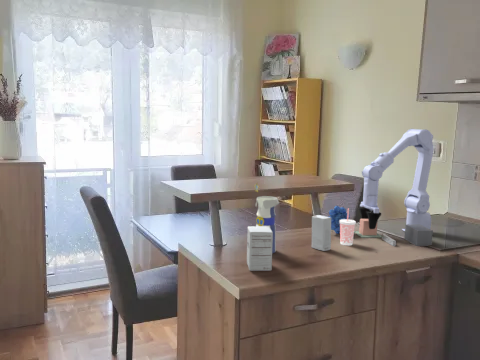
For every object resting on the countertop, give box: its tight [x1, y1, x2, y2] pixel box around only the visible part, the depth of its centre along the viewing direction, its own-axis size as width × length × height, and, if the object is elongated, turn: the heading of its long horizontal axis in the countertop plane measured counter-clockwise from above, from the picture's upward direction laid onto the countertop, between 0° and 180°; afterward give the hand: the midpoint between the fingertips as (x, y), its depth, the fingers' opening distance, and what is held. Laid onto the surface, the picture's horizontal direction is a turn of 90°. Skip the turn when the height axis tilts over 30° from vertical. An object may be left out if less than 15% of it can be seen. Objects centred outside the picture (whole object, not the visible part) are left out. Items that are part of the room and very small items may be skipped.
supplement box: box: [246, 225, 273, 272], centre depth 145 cm, size 7×7×13 cm
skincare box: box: [311, 214, 332, 252], centre depth 166 cm, size 6×4×12 cm
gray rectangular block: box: [403, 224, 434, 247], centre depth 178 cm, size 6×10×6 cm, turn 7°
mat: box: [354, 230, 382, 239], centre depth 189 cm, size 9×9×1 cm
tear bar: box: [381, 233, 397, 247], centre depth 177 cm, size 1×10×2 cm, turn 7°
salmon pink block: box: [358, 218, 379, 235], centre depth 188 cm, size 6×4×6 cm, turn 97°
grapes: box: [328, 205, 351, 235], centre depth 188 cm, size 12×7×12 cm, turn 117°
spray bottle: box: [253, 182, 280, 254], centre depth 161 cm, size 8×9×25 cm
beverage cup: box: [339, 207, 357, 246], centre depth 173 cm, size 6×6×14 cm
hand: (368, 226), depth 188 cm, fingers open, 7 cm apart
